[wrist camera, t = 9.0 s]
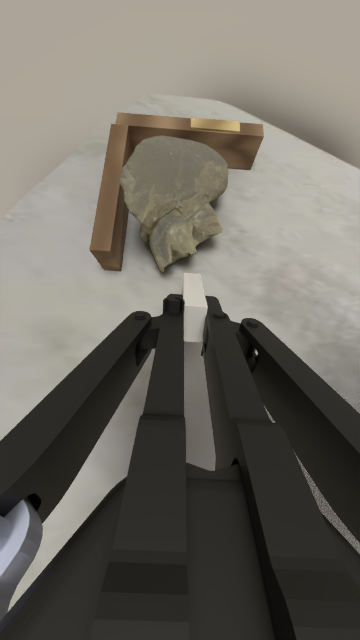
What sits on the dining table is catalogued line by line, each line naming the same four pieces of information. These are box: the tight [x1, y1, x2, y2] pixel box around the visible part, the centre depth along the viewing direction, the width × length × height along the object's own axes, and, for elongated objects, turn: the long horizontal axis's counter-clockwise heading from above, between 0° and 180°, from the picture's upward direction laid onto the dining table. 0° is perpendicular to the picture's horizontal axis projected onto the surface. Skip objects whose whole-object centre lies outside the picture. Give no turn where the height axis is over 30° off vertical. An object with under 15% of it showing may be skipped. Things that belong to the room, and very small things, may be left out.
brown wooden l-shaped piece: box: [90, 113, 264, 271], centre depth 22 cm, size 18×19×4 cm
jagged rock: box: [119, 135, 228, 271], centre depth 20 cm, size 14×10×10 cm
